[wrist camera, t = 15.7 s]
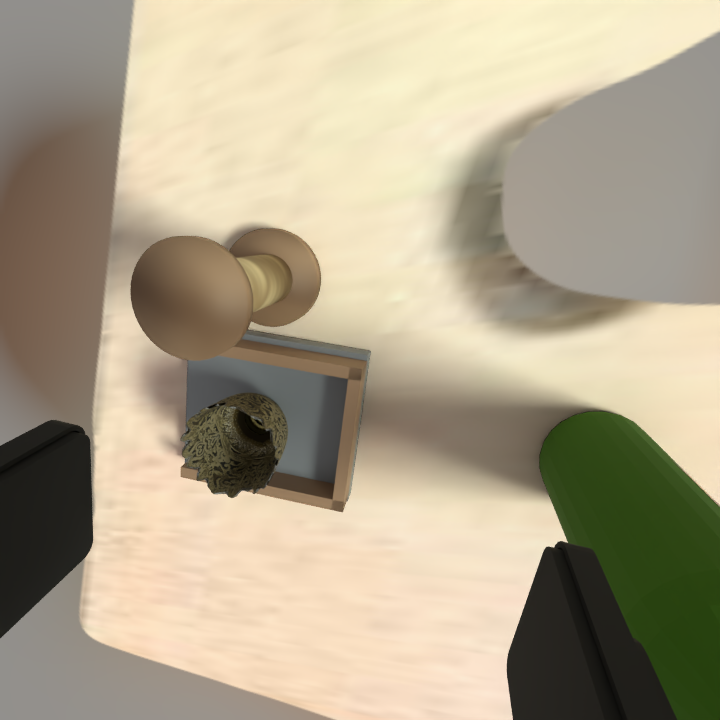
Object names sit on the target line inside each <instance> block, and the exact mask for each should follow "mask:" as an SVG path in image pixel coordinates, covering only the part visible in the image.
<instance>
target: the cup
mask: <svg viewBox="0 0 720 720" xmlns="http://www.w3.org/2000/svg"><path fill="white" fill-rule="evenodd" d="M186 427H187V430H188V431H187V432H186V433H184V434H183V435H182V438H181V441H183V442H187V444H186V445H185V446H184V448H183V451H182V455H183V457H184V458H186V459H187V463H186V467H189V468H193V469H198V472H197V478H196V480H197V481H201V480H206V482H207V484H208V485H207V486H208V488H209V489H210V490H211V492H212V493H213V494H227V495H228V497H230V498H234V497H236V496H237V495H238V494H239V493H240V492H241V491H247V492H248V491H250V490H252V489H253V491H254V492H253V494H255V493H257V492H258V491H259V489H260V488H261V489H264V488H265V487H266V486H267V485H268V483H269V482H270V480H271V478H272V476H273V474H274V473H275V470H276V468H277V466H278V463H279V461H280V459H281V457H282V454H283V452H284V449H285V446H286V443H287V438H288V425H287V421H286V418H285V415H284V413H283V411H282V410H281V408H280V406H279V405H278V404H277V403H276V402H275V401H274V400H272V399H270V398H268V397H266V396H264V395H261V394H257V393H249V392H247V393H240V394H235V395H232V396H229V397H227V398H225V399H223V400H221V401H218V402H216V403H214V404H212V405H210V406H208V407H206V408H204V409H202V410H200V411H199V412H198V413H197V414H195V415H194V416H192V417H191V418H190V419H189V420H188V421H187V423H186ZM188 440H189V441H188Z"/></svg>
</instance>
